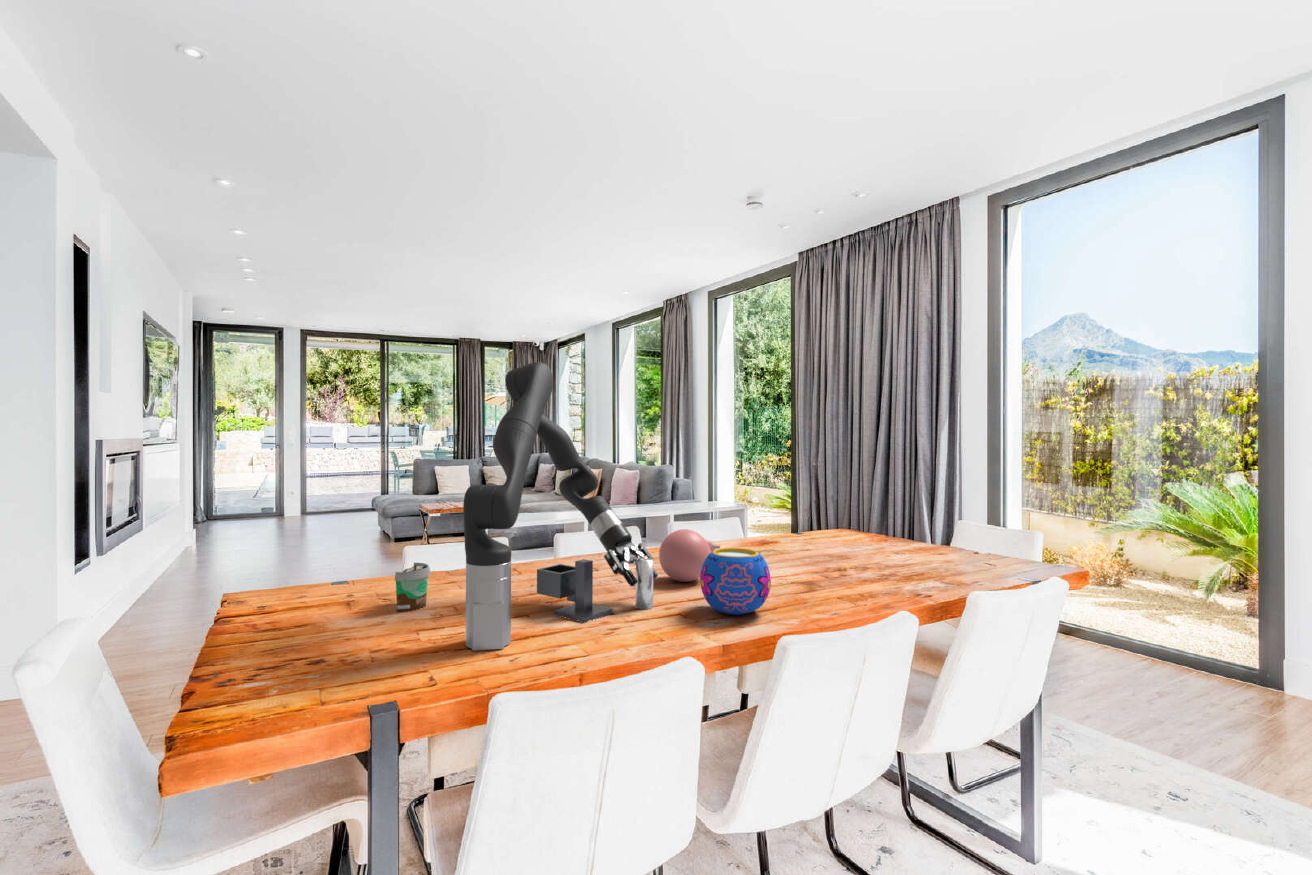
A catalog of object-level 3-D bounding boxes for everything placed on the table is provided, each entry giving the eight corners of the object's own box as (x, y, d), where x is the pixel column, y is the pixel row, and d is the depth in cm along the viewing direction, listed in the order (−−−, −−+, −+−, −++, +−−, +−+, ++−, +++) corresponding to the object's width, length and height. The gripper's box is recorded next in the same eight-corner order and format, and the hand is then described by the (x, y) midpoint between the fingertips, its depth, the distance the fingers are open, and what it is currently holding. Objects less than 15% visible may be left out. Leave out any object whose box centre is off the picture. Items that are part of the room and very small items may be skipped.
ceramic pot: (767, 603, 167) (768, 546, 167) (773, 624, 150) (774, 560, 149) (700, 601, 169) (701, 544, 169) (698, 621, 151) (698, 558, 151)
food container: (419, 614, 155) (419, 572, 155) (394, 613, 155) (394, 572, 155) (438, 600, 168) (438, 562, 168) (414, 600, 168) (414, 562, 168)
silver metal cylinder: (654, 608, 161) (655, 561, 161) (637, 609, 160) (638, 562, 160) (650, 604, 166) (651, 557, 166) (634, 605, 165) (634, 558, 165)
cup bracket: (612, 613, 157) (613, 560, 157) (584, 622, 149) (585, 567, 149) (562, 601, 168) (562, 551, 167) (534, 610, 159) (534, 557, 159)
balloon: (733, 583, 189) (734, 531, 189) (672, 589, 181) (672, 535, 181) (708, 572, 203) (709, 523, 203) (650, 577, 195) (651, 527, 195)
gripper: (600, 525, 162) (636, 577, 156) (635, 519, 174) (669, 567, 167) (585, 544, 165) (619, 595, 159) (620, 536, 177) (653, 584, 170)
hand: (645, 581), depth 163 cm, fingers open, 8 cm apart
